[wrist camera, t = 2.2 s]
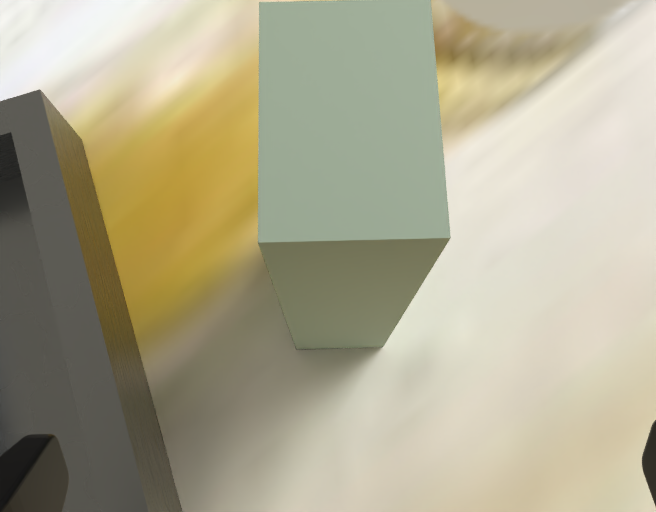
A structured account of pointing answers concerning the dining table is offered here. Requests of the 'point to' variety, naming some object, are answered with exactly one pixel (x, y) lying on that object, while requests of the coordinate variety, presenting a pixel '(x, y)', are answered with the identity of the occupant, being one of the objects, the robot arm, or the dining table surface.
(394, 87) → the panel
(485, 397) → the dining table surface
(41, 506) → the robot arm
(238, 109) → the dining table surface
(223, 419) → the dining table surface
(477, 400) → the dining table surface
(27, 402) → the track
